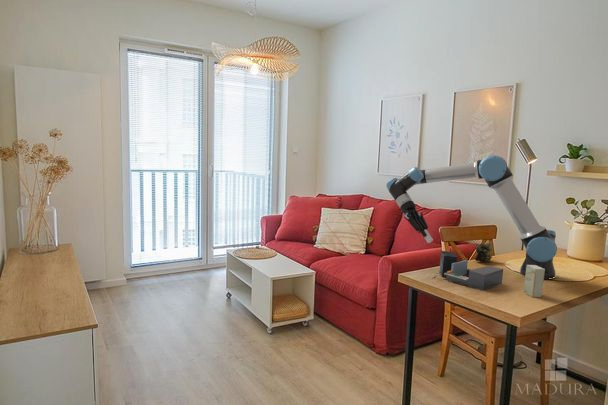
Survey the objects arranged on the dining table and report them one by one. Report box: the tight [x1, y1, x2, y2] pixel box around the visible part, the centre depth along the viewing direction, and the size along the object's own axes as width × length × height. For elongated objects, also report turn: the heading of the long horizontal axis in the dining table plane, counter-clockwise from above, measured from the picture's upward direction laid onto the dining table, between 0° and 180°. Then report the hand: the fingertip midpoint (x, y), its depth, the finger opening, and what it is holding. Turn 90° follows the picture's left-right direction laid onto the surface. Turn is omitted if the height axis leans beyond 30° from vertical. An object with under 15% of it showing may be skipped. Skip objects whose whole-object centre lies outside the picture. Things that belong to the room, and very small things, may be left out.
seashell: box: [474, 242, 493, 263], centre depth 225 cm, size 11×11×10 cm
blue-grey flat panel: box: [447, 259, 469, 276], centre depth 191 cm, size 1×16×7 cm, turn 128°
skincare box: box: [522, 265, 545, 298], centre depth 171 cm, size 6×4×12 cm
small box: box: [438, 250, 458, 278], centre depth 197 cm, size 11×6×10 cm, turn 168°
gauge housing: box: [444, 265, 504, 291], centre depth 186 cm, size 18×18×7 cm
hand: (430, 241), depth 203 cm, fingers closed
